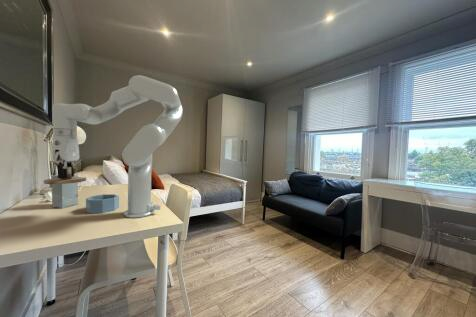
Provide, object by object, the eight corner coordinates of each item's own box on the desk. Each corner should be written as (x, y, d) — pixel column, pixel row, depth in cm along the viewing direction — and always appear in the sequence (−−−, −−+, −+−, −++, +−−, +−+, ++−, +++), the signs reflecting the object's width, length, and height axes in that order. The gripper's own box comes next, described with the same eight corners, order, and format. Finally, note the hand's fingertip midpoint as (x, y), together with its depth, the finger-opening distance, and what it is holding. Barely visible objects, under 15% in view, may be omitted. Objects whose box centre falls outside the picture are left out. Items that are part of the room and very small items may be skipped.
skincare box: (62, 208, 96) (62, 175, 95) (50, 207, 97) (50, 175, 96) (79, 204, 104) (79, 173, 103) (68, 202, 105) (68, 173, 105)
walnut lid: (92, 179, 92) (92, 166, 92) (73, 183, 78) (73, 168, 78) (59, 179, 90) (59, 166, 89) (33, 184, 76) (33, 168, 76)
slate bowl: (121, 205, 103) (121, 194, 103) (110, 212, 91) (110, 199, 91) (95, 206, 101) (95, 194, 101) (81, 213, 89) (81, 200, 89)
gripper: (61, 132, 76) (62, 180, 77) (86, 135, 92) (87, 175, 93) (39, 131, 74) (40, 180, 75) (68, 135, 91) (68, 175, 91)
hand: (66, 177), depth 84 cm, fingers closed on walnut lid, 3 cm apart
